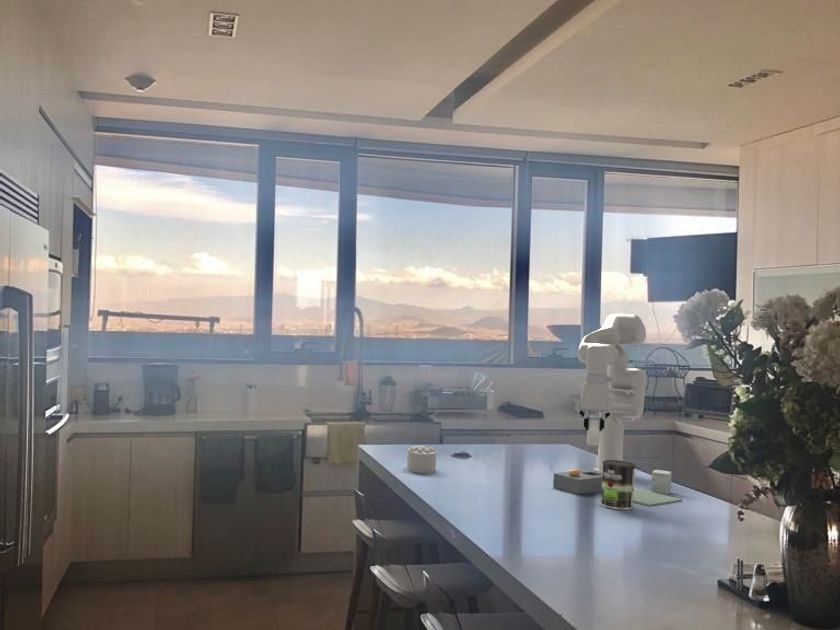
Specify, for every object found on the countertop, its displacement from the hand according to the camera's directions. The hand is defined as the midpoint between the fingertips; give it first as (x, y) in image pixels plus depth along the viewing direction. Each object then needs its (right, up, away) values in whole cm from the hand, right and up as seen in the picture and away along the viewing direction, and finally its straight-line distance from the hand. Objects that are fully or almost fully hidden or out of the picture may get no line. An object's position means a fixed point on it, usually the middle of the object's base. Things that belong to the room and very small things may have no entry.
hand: (593, 429), depth 296 cm
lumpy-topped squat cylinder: (-62, -18, +18) cm, 67 cm away
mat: (+14, -22, -14) cm, 29 cm away
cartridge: (0, -5, 0) cm, 5 cm away
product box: (+24, -22, -1) cm, 32 cm away
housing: (-4, -21, -3) cm, 21 cm away
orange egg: (-8, -19, -6) cm, 22 cm away
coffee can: (+2, -21, -28) cm, 35 cm away
